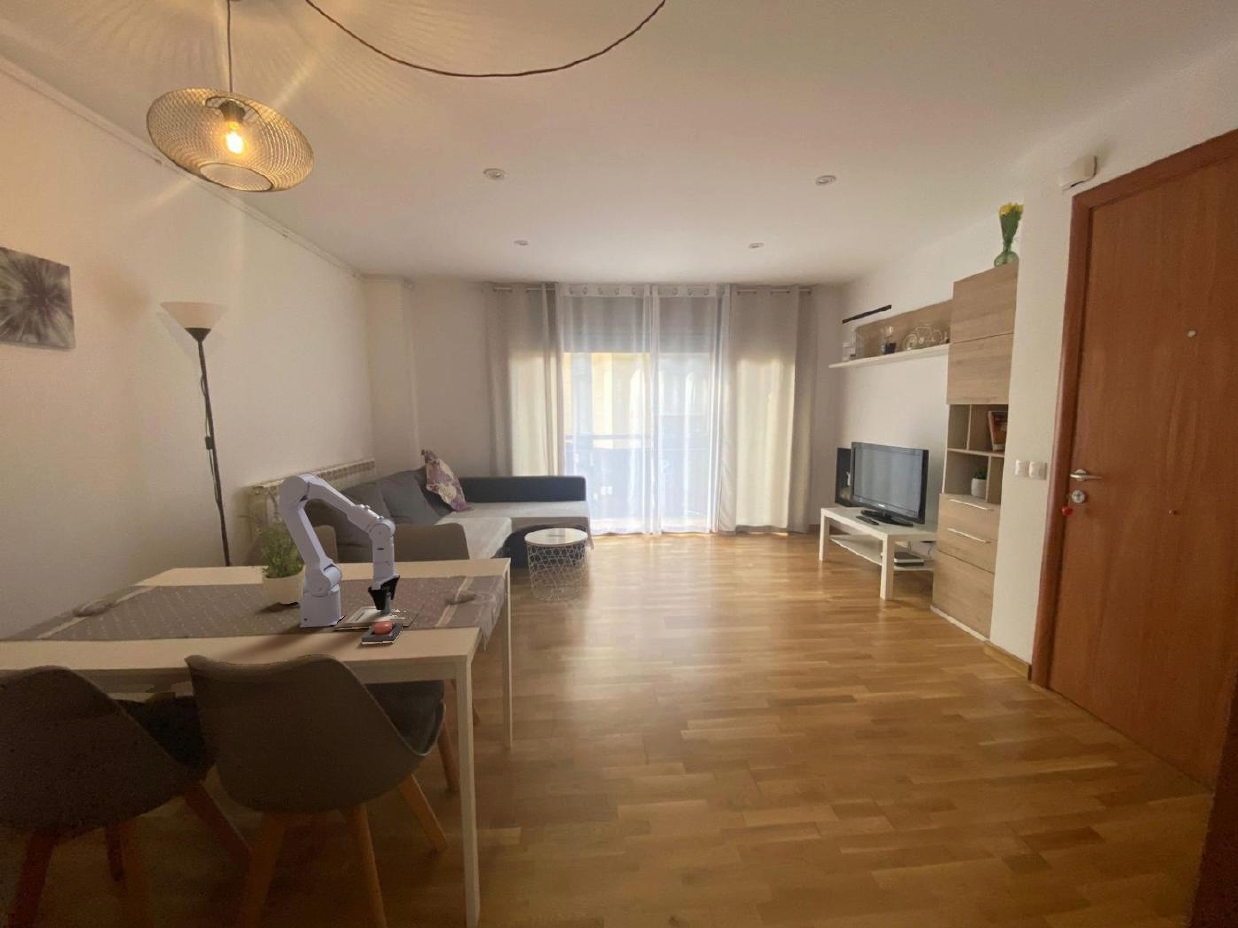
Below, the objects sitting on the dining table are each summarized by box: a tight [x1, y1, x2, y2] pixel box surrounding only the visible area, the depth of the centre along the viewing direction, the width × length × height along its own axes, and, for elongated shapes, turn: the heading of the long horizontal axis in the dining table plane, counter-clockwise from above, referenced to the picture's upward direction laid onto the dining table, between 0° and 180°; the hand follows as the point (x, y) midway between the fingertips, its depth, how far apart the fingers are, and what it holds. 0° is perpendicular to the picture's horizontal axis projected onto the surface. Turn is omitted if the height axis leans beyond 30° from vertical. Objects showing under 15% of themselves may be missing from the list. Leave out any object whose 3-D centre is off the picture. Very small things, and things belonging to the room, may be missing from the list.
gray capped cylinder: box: [381, 592, 392, 615], centre depth 138 cm, size 3×3×6 cm
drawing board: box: [333, 604, 406, 630], centre depth 138 cm, size 20×16×1 cm
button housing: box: [361, 623, 404, 643], centre depth 125 cm, size 8×8×2 cm
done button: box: [374, 621, 392, 635], centre depth 125 cm, size 4×4×2 cm
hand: (385, 604), depth 138 cm, fingers open, 7 cm apart
